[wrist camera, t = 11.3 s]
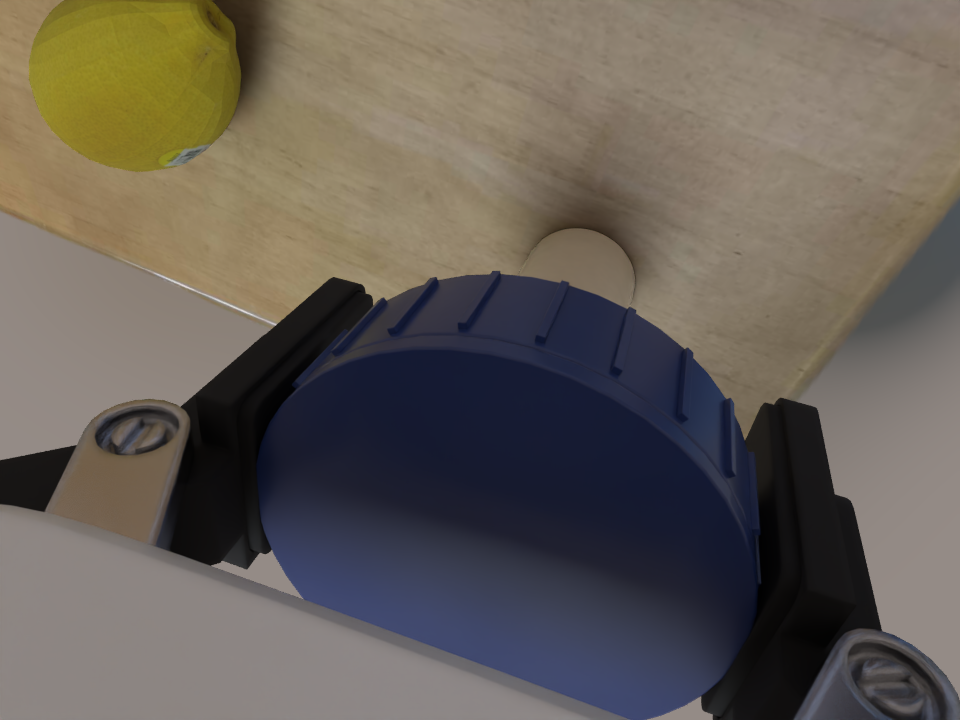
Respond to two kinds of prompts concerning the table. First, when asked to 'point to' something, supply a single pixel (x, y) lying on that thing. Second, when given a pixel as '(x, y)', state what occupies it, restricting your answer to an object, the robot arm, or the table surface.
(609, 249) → the cream canister
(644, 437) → the jar lid
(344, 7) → the table surface
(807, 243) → the table surface
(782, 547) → the robot arm
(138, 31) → the lemon
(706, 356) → the table surface
